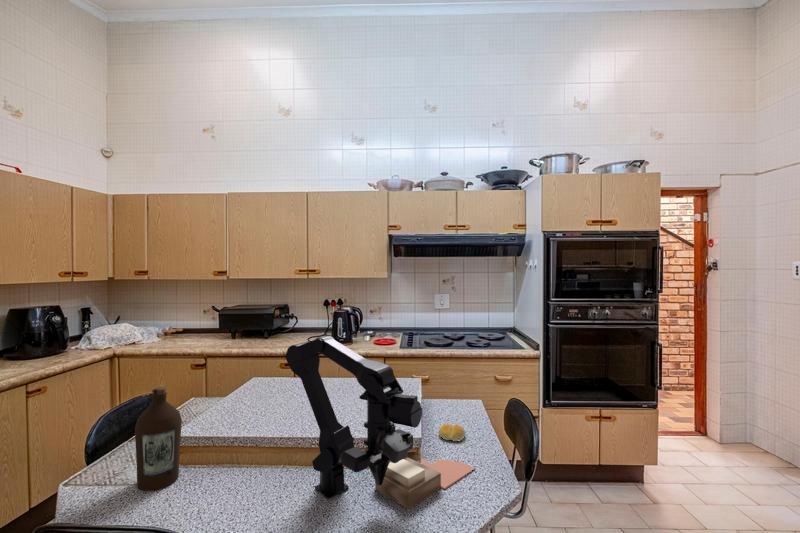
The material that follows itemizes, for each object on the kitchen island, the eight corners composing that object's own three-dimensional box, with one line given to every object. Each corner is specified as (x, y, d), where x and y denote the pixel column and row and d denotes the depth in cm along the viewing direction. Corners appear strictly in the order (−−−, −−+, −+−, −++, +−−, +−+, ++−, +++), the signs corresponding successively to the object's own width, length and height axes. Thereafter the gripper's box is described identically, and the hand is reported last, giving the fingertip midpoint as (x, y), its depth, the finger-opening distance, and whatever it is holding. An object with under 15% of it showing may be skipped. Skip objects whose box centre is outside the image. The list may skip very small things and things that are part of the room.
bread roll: (441, 430, 133) (441, 419, 133) (466, 434, 130) (466, 422, 130) (435, 440, 125) (435, 428, 125) (462, 444, 122) (462, 432, 122)
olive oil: (135, 478, 102) (136, 386, 102) (180, 467, 108) (180, 380, 108) (133, 498, 93) (134, 397, 94) (182, 484, 99) (183, 389, 99)
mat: (405, 469, 106) (405, 468, 106) (437, 452, 116) (437, 451, 116) (444, 489, 96) (444, 488, 96) (475, 469, 106) (475, 468, 106)
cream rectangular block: (383, 473, 97) (383, 465, 97) (399, 464, 101) (399, 457, 101) (408, 487, 90) (408, 478, 90) (424, 477, 95) (424, 469, 95)
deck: (375, 488, 97) (375, 473, 97) (407, 471, 105) (407, 457, 105) (408, 509, 88) (408, 492, 88) (440, 488, 97) (440, 472, 97)
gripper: (371, 442, 78) (371, 517, 77) (429, 417, 91) (430, 482, 91) (339, 426, 86) (339, 495, 85) (397, 406, 99) (398, 465, 98)
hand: (379, 484), depth 90 cm, fingers closed
